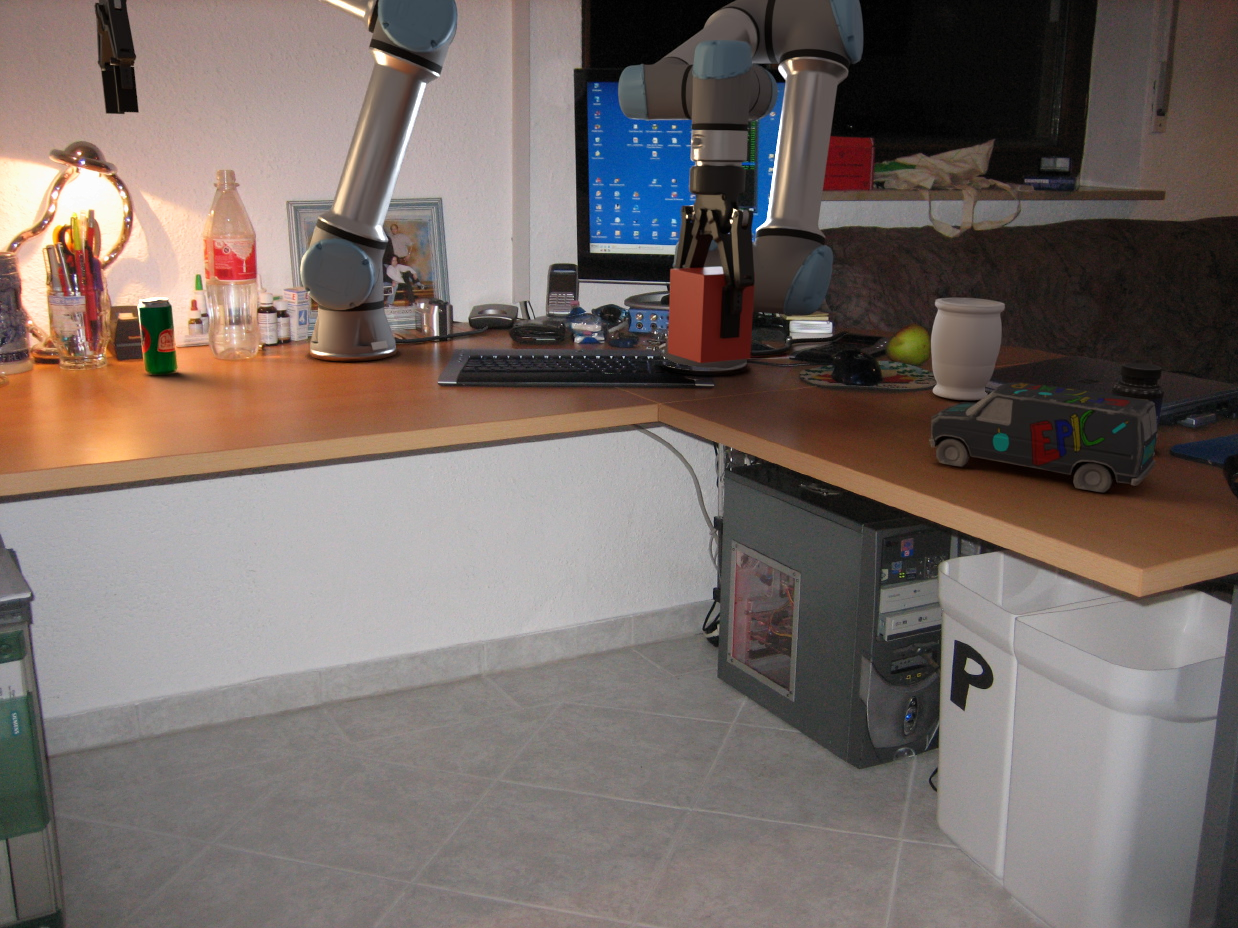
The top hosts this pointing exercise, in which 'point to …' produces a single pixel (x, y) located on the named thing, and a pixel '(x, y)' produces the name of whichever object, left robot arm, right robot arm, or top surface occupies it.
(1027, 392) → the toy van
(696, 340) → the brick
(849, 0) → the right robot arm
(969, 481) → the top surface
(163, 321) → the soda can
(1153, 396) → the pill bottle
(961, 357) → the jar
